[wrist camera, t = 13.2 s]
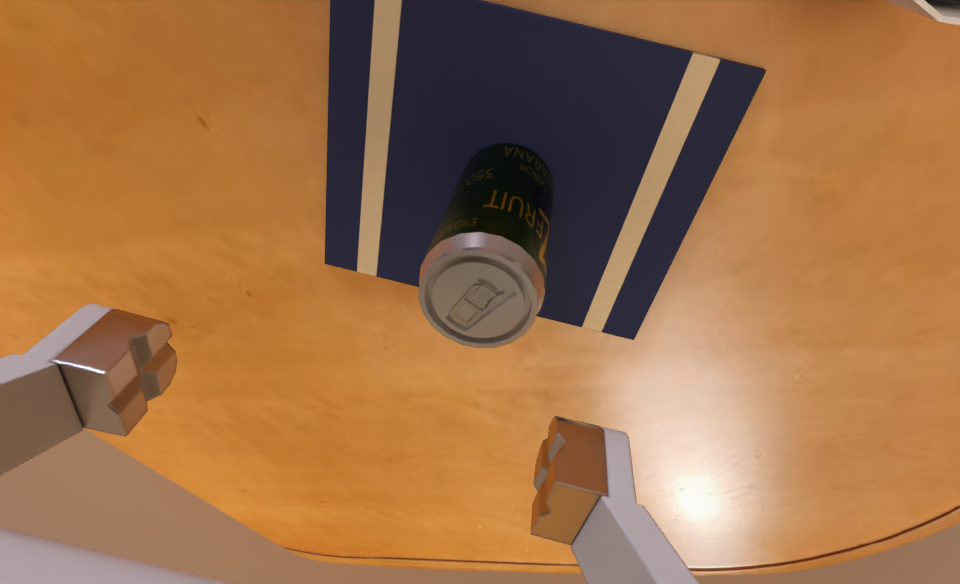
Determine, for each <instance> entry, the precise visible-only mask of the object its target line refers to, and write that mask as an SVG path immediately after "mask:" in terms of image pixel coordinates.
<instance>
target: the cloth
mask: <svg viewBox="0 0 960 584" xmlns="http://www.w3.org/2000/svg"><path fill="white" fill-rule="evenodd" d="M765 72H766V70H764V69H762V68H758V67H754V66H750V65H746V64H742V63H738V62H734V61H729V60H725V59H721V58H717V57H713V56H709V55H705V54H701V53H697V52H692V51H688V50H684V49H680V48H676V47H672V46H668V45H664V44H659V43H655V42H651V41H647V40H643V39H639V38H635V37H631V36H627V35H622V34H618V33H614V32H610V31H606V30H602V29H598V28H594V27H589V26H585V25H581V24H577V23H573V22H569V21H565V20H561V19H556V18H552V17H548V16H544V15H540V14H536V13H532V12H528V11H524V10H519V9H515V8H511V7H507V6H503V5H499V4H495V3H491V2H486V1H482V0H331V1H330V48H329V95H328V142H327V188H326V235H325V264H328V265H333V266H337V267H341V268H345V269H349V270H353V271H357V272H360V273H364V274H368V275H372V276H377V277H381V278H385V279H389V280H393V281H397V282H401V283H405V284H409V285H413V286H418V287H420V286H419V277H420V267H421V265H422V263H423V260H424V258H425V256H426V254H427V251H428V249H429V247H430V245H431V242H432V240H433V238H434V236H435V234H436V231H437V229H438V227H439V225H440V222H441V220H442V218H443V216H444V213H445V211H446V209H447V207H448V204H449V202H450V200H451V198H452V195H453V193H454V191H455V189H456V186H457V184H458V182H459V180H460V177H461V175H462V173H463V171H464V169H465V167H466V165H467V163H468V161H469V160H470V159H471V158H472V157H473V156H474V155H475V154H476V153H477V152H478V151H479V150H481V149H484V148H486V147H488V146H490V145H492V144H500V143H512V144H517V145H522V146H524V147H526V148H528V149H530V150H532V151H533V152H535V153H537V154H538V156H539V157H540V158H541V159H542V160H543V161H544V162H545V163H546V164H547V167H548V169H549V171H550V173H551V175H552V180H553V203H552V215H551V227H550V239H549V252H548V264H547V276H546V288H545V295H544V299H543V303H542V306H541V309H540V311H539V312H538V313H537V315H536V316H539V317H543V318H547V319H551V320H555V321H559V322H563V323H567V324H571V325H575V326H579V327H582V328H586V329H590V330H594V331H598V332H604V333H608V334H612V335H616V336H620V337H624V338H628V339H632V340H634V338H635V336H636V334H637V332H638V330H639V328H640V326H641V324H642V322H643V320H644V318H645V316H646V314H647V312H648V310H649V308H650V306H651V304H652V302H653V300H654V298H655V296H656V294H657V292H658V290H659V288H660V286H661V284H662V282H663V280H664V277H665V275H666V273H667V271H668V269H669V267H670V265H671V263H672V261H673V259H674V257H675V255H676V253H677V251H678V249H679V247H680V245H681V243H682V241H683V239H684V237H685V235H686V233H687V231H688V229H689V227H690V225H691V223H692V221H693V219H694V216H695V214H696V212H697V210H698V208H699V206H700V204H701V202H702V200H703V198H704V196H705V194H706V192H707V190H708V188H709V186H710V184H711V182H712V180H713V178H714V176H715V174H716V172H717V170H718V168H719V166H720V164H721V162H722V160H723V158H724V155H725V153H726V151H727V149H728V147H729V145H730V143H731V141H732V139H733V137H734V135H735V133H736V131H737V129H738V127H739V125H740V123H741V121H742V119H743V117H744V115H745V113H746V111H747V109H748V107H749V105H750V103H751V101H752V99H753V97H754V94H755V92H756V90H757V88H758V86H759V84H760V82H761V80H762V78H763V76H764V74H765Z"/></svg>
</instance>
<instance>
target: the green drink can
mask: <svg viewBox="0 0 960 584" xmlns="http://www.w3.org/2000/svg"><path fill="white" fill-rule="evenodd" d="M552 203H553V180H552V175H551V173H550V171H549V169H548V167H547V164H546V163H545V162H544V161H543V160H542V159H541V158H540V157H539V156H538V154H537V153H535V152H533V151H532V150H530V149H528V148H526V147H524V146H522V145H517V144H512V143H500V144H492V145H490V146H488V147H486V148H484V149H481V150H479V151H478V152H477V153H476V154H475V155H474V156H473V157H472V158H471V159H470V160H469V161H468V163H467V165H466V167H465V169H464V171H463V173H462V175H461V177H460V180H459V182H458V184H457V186H456V189H455V191H454V193H453V195H452V198H451V200H450V202H449V204H448V207H447V209H446V211H445V213H444V216H443V218H442V220H441V222H440V225H439V227H438V229H437V231H436V234H435V236H434V238H433V240H432V242H431V245H430V247H429V249H428V251H427V254H426V256H425V258H424V260H423V263H422V265H421V267H420V277H419V286H420V287H419V297H418V298H419V301H420V305H421V308H422V312H423V314H424V315H425V317H426V318H427V320H428V321H429V323H430V324H431V326H432V327H434V328H435V329H436V330H437V331H438V332H440V333H441V334H442V335H443V336H444V337H446V338H448V339H450V340H453V341H455V342H457V343H459V344H461V345H466V346H471V347H475V348H496V347H499V346H503V345H506V344H509V343H512V342H514V341H515V340H517V339H518V338H520V337H521V336H523V335H524V334H525V333H526V332H527V331H528V329H529V328H530V327H531V325H532V324H533V323H534V320H535V317H536V315H537V313H538V312H539V311H540V309H541V306H542V303H543V299H544V295H545V288H546V276H547V264H548V252H549V239H550V227H551V215H552Z"/></svg>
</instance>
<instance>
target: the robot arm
mask: <svg viewBox="0 0 960 584" xmlns="http://www.w3.org/2000/svg"><path fill="white" fill-rule="evenodd" d="M171 337H172V333H171V329H170V325H169V324H168V323H165V322H163V321H159V320H155V319H152V318H148V317H144V316H141V315H137V314H133V313H129V312H126V311H122V310H118V309H113V308H110V307H106V306H102V305H98V304H94V303H92V304H89V305H85V306H83V307H82V308H80V309H79V310H78V311H77V312H75V313H74V314H73V315H72V316H70V317H69V318H68V319H67V320H66V321H64V322H63V323H62V324H61V325H59V326H58V327H57V328H56V329H54V330H53V331H52V332H51V333H49V334H48V335H47V336H46V337H44V338H43V339H42V340H41V341H39V342H38V343H37V344H36V345H34V346H33V347H32V348H31V349H30V350H28V351H27V352H26V353H25V354H23V355H19V354H12V355H9V356H6V357H3V358H0V475H2V474H4V473H6V472H8V471H10V470H11V469H13V468H15V467H17V466H19V465H20V464H22V463H24V462H26V461H28V460H29V459H32V458H33V457H35V456H37V455H39V454H41V453H42V452H44V451H46V450H48V449H49V448H52V447H53V446H55V445H57V444H59V443H61V442H62V441H64V440H66V439H68V438H70V437H72V436H73V435H75V434H77V433H79V432H81V431H83V428H87V429H92V430H97V431H101V432H106V433H111V434H116V435H120V436H125V437H126V436H127V435H128V434H129V433H130V431H131V430H132V429H133V428H134V427H135V426H136V424H137V423H138V422H139V421H140V420H141V418H142V417H143V416H144V415H145V414H146V413H147V411H148V406H147V401H149V400H151V399H153V398H155V397H157V396H160V395H162V394H163V392H164V391H165V390H166V389H167V387H168V386H169V385H170V383H171V381H172V379H173V377H174V374H175V372H176V368H177V356H176V351H175V350H174V349H173V348H172V347H171V346H170V345H169V344H168V343H167V341H168V340H169V339H170V338H171ZM534 486H535V488H536V489H537V491H538V493H537V495H536V497H535V499H534V501H533V504H532V519H531V535H535V536H539V537H542V538H546V539H550V540H553V541H557V542H561V543H565V544H568V545H572V546H571V549H572V551H573V553H574V556H575V558H576V560H577V562H578V564H579V566H580V568H581V571H582V573H583V575H584V577H585V579H586V581H587V583H588V584H699V583H698V582H697V580H696V579H695V577H694V576H693V574H692V573H691V572H690V570H689V569H688V567H687V566H686V565H685V563H684V562H683V560H682V559H681V558H680V556H679V555H678V553H677V552H676V550H675V549H674V548H673V546H672V545H671V543H670V542H669V541H668V539H667V538H666V536H665V535H664V534H663V532H662V531H661V529H660V528H659V526H658V525H657V524H656V522H655V521H654V519H653V518H652V517H651V515H650V514H649V512H648V511H647V510H646V508H645V507H644V506H642V505H639V504H637V502H636V493H635V485H634V477H633V468H632V460H631V451H630V443H629V437H628V435H627V433H625V432H621V431H617V430H612V429H608V428H604V427H602V428H601V427H600V426H596V425H592V424H588V423H583V422H579V421H575V420H570V419H566V418H562V417H557V416H555V417H554V418H553V419H552V421H551V423H550V426H549V433H548V438H547V439H545V440H543V442H542V445H541V447H540V450H539V453H538V457H537V461H536V466H535V473H534ZM0 584H236V583H232V582H228V581H224V580H220V579H215V578H211V577H207V576H202V575H199V574H195V573H190V572H186V571H182V570H178V569H174V568H170V567H165V566H161V565H157V564H153V563H149V562H144V561H140V560H136V559H132V558H128V557H124V556H120V555H115V554H111V553H107V552H103V551H99V550H94V549H90V548H86V547H82V546H78V545H74V544H69V543H65V542H61V541H57V540H53V539H49V538H45V537H40V536H36V535H32V534H28V533H24V532H20V531H15V530H11V529H7V528H3V527H0Z"/></svg>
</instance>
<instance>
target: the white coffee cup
mask: <svg viewBox="0 0 960 584" xmlns="http://www.w3.org/2000/svg"><path fill="white" fill-rule="evenodd" d="M885 1H888V2H890V3H893V4H895V5H898V6H900V7H903V8H905V9H908V10H911V11H913V12H916V13H918V14H921V15H923V16H926V17H928V18H931V19H934V20H936V21H939V22H944V23H950V24H956V25H960V0H885Z"/></svg>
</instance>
